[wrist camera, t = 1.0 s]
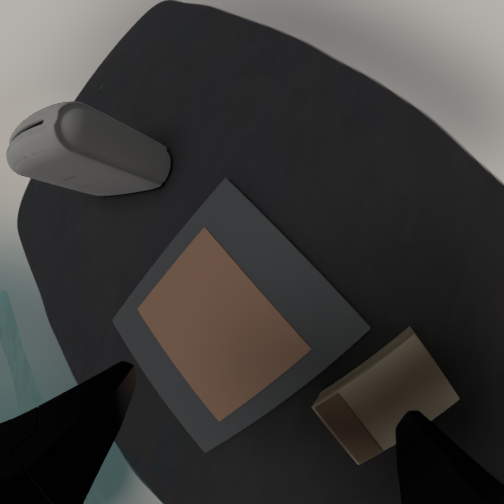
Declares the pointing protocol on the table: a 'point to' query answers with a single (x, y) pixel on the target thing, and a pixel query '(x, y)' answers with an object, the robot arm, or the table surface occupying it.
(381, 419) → the tan beveled box
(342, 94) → the table surface
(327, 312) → the rubber mat
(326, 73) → the table surface
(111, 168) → the grey rounded block
